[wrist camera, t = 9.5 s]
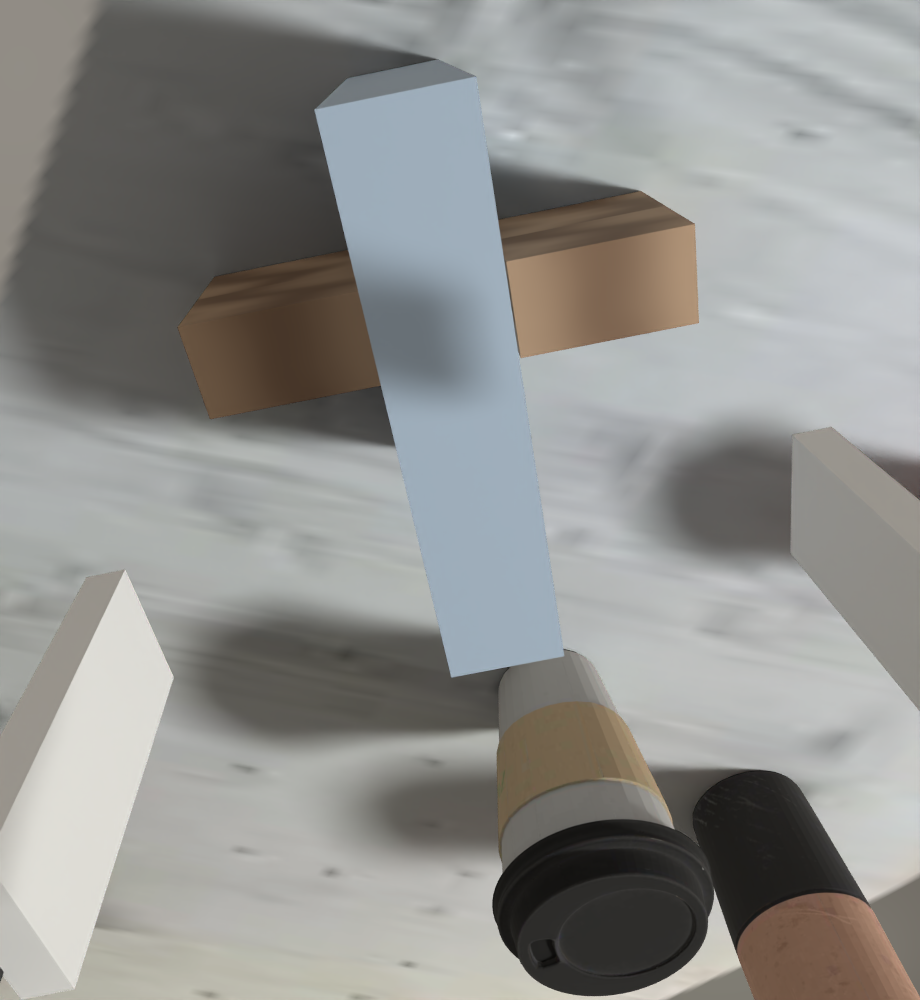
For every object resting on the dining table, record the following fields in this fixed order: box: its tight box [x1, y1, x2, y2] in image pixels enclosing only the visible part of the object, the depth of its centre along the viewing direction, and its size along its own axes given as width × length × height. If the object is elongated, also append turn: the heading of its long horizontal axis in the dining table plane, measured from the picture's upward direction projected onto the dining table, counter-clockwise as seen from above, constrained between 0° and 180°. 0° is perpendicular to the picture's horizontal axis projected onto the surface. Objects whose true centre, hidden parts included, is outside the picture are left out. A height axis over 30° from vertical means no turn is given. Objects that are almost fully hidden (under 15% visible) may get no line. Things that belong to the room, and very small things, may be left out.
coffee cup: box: [492, 650, 714, 996], centre depth 41 cm, size 9×9×15 cm
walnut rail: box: [177, 191, 699, 419], centre depth 33 cm, size 18×4×7 cm, turn 100°
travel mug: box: [693, 771, 920, 1000], centre depth 45 cm, size 8×8×20 cm
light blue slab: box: [315, 60, 564, 678], centre depth 29 cm, size 4×16×16 cm, turn 10°
